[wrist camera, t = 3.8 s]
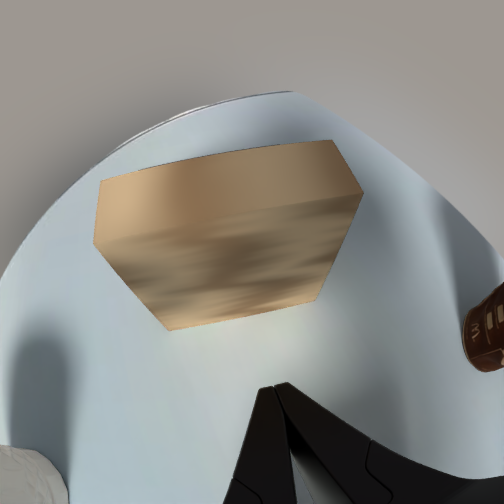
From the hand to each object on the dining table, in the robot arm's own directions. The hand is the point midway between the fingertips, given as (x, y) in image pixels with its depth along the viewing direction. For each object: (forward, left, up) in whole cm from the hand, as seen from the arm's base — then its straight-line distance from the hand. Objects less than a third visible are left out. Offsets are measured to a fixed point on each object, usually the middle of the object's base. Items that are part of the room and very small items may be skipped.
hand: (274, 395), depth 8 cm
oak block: (0, -8, -12) cm, 15 cm away
